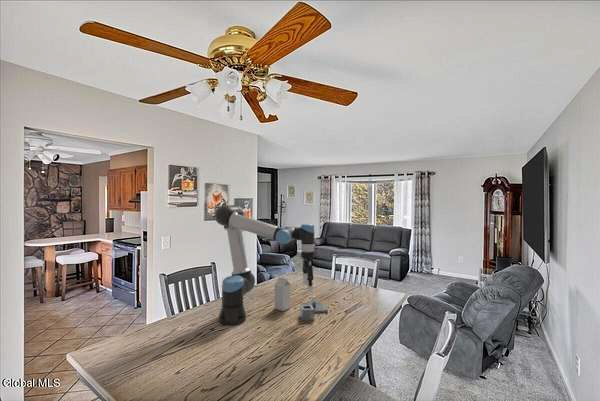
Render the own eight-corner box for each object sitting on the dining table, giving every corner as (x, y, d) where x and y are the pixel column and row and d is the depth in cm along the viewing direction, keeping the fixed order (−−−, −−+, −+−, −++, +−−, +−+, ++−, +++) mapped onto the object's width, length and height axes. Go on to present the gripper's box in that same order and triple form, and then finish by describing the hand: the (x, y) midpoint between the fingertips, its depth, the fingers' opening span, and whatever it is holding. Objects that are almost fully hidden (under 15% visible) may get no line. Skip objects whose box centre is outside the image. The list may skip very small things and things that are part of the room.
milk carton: (283, 311, 174) (283, 280, 174) (274, 308, 178) (274, 278, 178) (290, 308, 179) (290, 277, 179) (281, 305, 184) (282, 275, 184)
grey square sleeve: (301, 320, 161) (302, 309, 161) (299, 315, 168) (300, 305, 168) (314, 319, 162) (314, 309, 162) (311, 315, 169) (311, 304, 169)
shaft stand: (305, 313, 171) (305, 300, 171) (301, 305, 184) (301, 292, 184) (327, 312, 173) (328, 299, 173) (322, 304, 187) (322, 291, 187)
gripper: (319, 254, 153) (318, 294, 153) (309, 247, 178) (309, 281, 178) (305, 255, 152) (305, 295, 152) (297, 247, 176) (297, 282, 176)
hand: (307, 287), depth 165 cm, fingers open, 13 cm apart
